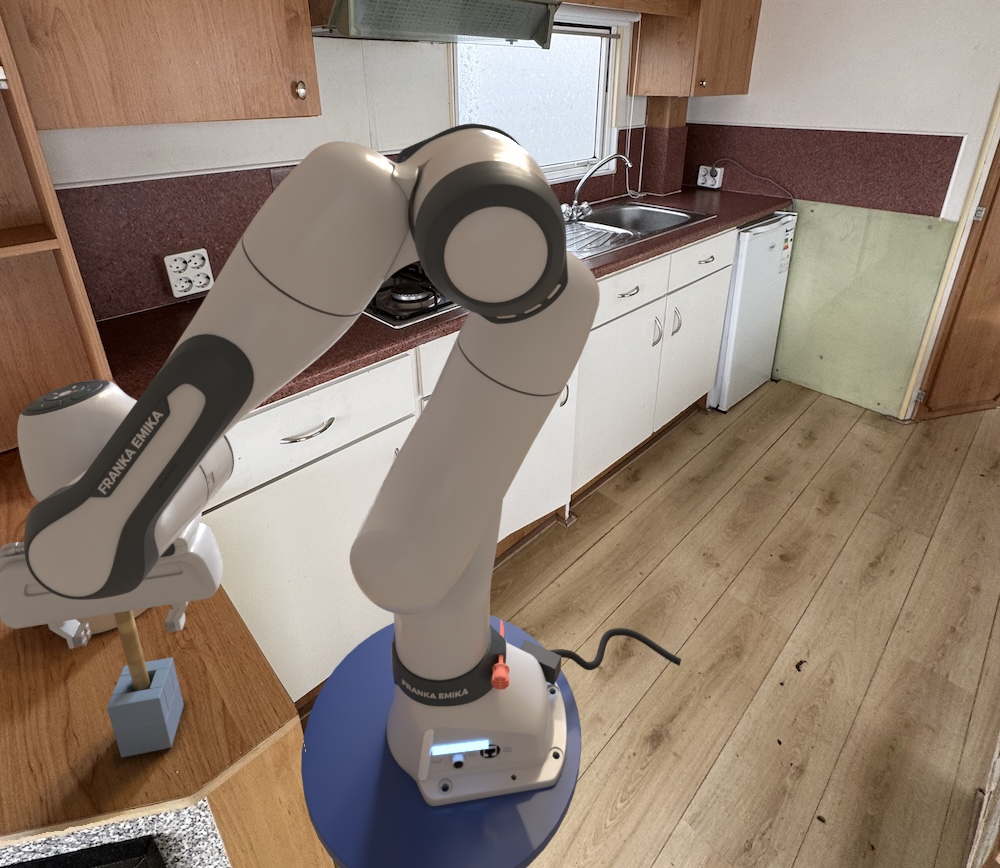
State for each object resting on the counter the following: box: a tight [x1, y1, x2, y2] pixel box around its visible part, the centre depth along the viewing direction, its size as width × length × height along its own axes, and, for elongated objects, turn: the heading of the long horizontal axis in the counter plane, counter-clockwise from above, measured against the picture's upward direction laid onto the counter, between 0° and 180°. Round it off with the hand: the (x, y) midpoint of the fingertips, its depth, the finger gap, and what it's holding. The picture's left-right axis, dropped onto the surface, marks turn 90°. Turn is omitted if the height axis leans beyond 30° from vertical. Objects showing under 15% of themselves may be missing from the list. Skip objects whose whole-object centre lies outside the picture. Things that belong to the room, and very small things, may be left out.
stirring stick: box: [114, 611, 151, 692], centre depth 65 cm, size 2×2×15 cm
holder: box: [106, 657, 185, 758], centre depth 67 cm, size 5×5×8 cm
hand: (129, 634), depth 63 cm, fingers open, 8 cm apart
